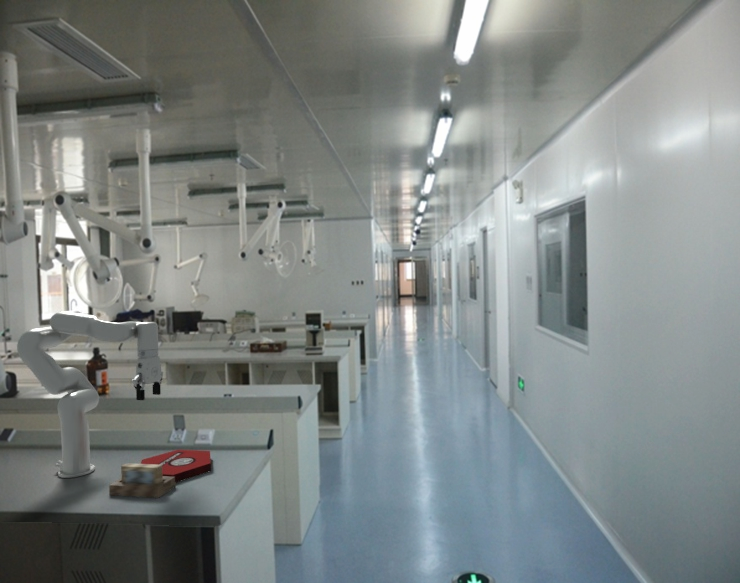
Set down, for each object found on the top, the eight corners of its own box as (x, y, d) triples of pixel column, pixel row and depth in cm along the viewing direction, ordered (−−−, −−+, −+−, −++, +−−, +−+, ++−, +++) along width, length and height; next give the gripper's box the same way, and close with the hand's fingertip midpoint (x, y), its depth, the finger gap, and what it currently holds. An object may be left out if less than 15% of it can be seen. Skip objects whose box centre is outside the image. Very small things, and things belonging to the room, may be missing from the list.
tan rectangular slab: (122, 488, 182) (121, 466, 182) (127, 485, 185) (126, 463, 185) (157, 490, 179) (157, 467, 179) (162, 487, 182) (162, 464, 182)
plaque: (119, 481, 193) (193, 485, 187) (119, 472, 193) (192, 475, 187) (161, 457, 219) (227, 460, 213) (161, 448, 219) (226, 451, 213)
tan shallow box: (109, 495, 179) (109, 485, 179) (128, 483, 189) (127, 474, 189) (158, 497, 176) (158, 487, 176) (175, 486, 185) (174, 476, 185)
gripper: (141, 357, 192) (142, 402, 192) (169, 350, 209) (170, 392, 209) (124, 356, 194) (125, 401, 194) (153, 350, 210) (154, 392, 211)
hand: (148, 397), depth 202 cm, fingers open, 9 cm apart
